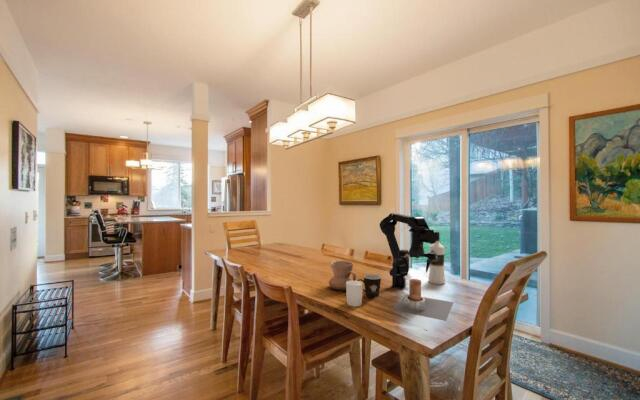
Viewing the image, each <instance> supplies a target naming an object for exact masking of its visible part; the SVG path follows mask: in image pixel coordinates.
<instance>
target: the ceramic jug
mask: <svg viewBox="0 0 640 400" xmlns="http://www.w3.org/2000/svg"><path fill="white" fill-rule="evenodd" d="M353 266H354V263H353V262H352V261H350V260H334V261H331V263H330V268H331V271H332V272H333V275H334V276H332V277H331V278H330V279H329V280H328V285H329V287H330V288H331V289H333V290H336V291H346V282H347V281H357V274H356V272H355V271H354V270H353V269H354V267H353ZM351 274H352V276H350V275H351Z"/></svg>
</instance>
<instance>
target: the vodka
mask: <svg viewBox="0 0 640 400" xmlns="http://www.w3.org/2000/svg"><path fill="white" fill-rule="evenodd" d="M434 233H435V234H436V236H437V240H436V242H435V243H434V244H430V245H429V252H433V253H437V259H436V260H434V261H432V262H431V264H430V266H429V270H428V271H429V272H428V282H429V283H430V284H434V285H443V284H445V283H446V277H445V246H444V245H443V244H441V243H440V231H434Z"/></svg>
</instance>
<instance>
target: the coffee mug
mask: <svg viewBox="0 0 640 400" xmlns="http://www.w3.org/2000/svg"><path fill="white" fill-rule="evenodd" d="M356 281H360V282H362V283H363V285H364V288H363V291H364V293H365V298H367V299H371V300H373V299H375V298H377V297H379V295H380V290H381V281H382V276H381V275H378V274H377V275H376V274H365V275H363V279H356Z"/></svg>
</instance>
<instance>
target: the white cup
mask: <svg viewBox="0 0 640 400" xmlns="http://www.w3.org/2000/svg"><path fill="white" fill-rule="evenodd" d="M363 287H364V282H363V281H361V280H360V281H357V280H355V281H347V282H346V290H345V291H346V293H345V294H346V305H347V306H349V307H350V306H351V307H354V308H355V307H356V308H357V307H361V306H362V301H363V291H364V290H363V289H364V288H363Z"/></svg>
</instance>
